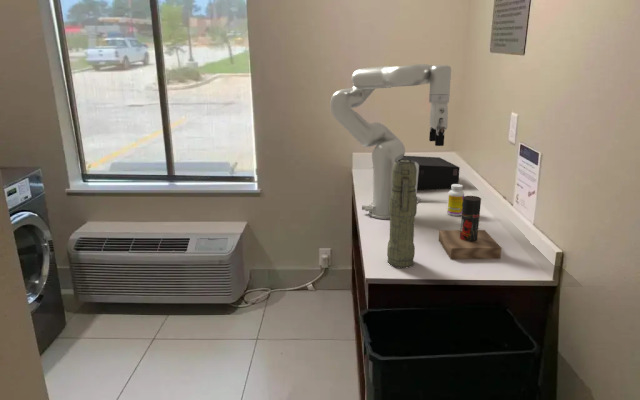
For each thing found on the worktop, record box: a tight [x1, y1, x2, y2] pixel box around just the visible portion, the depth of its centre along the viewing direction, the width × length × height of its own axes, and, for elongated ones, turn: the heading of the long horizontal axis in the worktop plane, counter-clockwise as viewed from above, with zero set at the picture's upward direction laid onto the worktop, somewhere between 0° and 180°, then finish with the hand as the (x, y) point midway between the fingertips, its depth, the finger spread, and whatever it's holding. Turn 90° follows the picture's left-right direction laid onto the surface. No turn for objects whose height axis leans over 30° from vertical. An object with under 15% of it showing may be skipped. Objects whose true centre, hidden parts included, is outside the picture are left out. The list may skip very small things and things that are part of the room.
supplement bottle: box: [446, 183, 465, 217], centre depth 210 cm, size 7×7×13 cm
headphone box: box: [401, 155, 461, 192], centre depth 258 cm, size 25×35×14 cm
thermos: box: [386, 159, 418, 269], centre depth 159 cm, size 9×12×35 cm
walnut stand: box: [438, 229, 502, 260], centre depth 174 cm, size 17×17×4 cm
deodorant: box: [459, 195, 482, 242], centre depth 171 cm, size 6×6×15 cm
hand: (436, 143), depth 191 cm, fingers open, 9 cm apart
